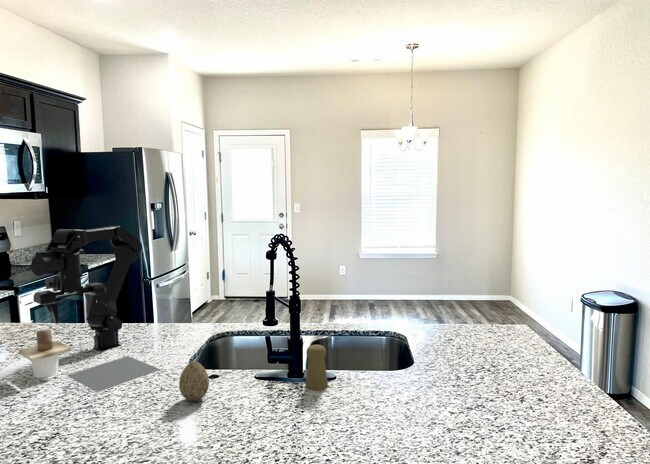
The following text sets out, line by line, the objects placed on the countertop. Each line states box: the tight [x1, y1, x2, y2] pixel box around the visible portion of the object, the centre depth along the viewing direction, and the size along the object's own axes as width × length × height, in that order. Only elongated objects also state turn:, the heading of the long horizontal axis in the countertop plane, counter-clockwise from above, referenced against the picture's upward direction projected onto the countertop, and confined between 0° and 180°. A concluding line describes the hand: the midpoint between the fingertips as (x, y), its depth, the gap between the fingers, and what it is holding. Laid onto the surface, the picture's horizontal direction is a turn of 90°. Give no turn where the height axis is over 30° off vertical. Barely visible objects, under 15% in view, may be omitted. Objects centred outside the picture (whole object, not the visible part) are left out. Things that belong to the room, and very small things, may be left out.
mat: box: [66, 355, 161, 393], centre depth 126 cm, size 18×18×1 cm
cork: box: [305, 344, 329, 392], centre depth 116 cm, size 6×6×11 cm
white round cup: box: [31, 354, 60, 379], centre depth 125 cm, size 7×7×7 cm
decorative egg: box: [178, 360, 210, 402], centre depth 109 cm, size 7×7×10 cm
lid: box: [18, 329, 72, 362], centre depth 124 cm, size 10×10×6 cm
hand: (72, 320), depth 135 cm, fingers open, 9 cm apart
